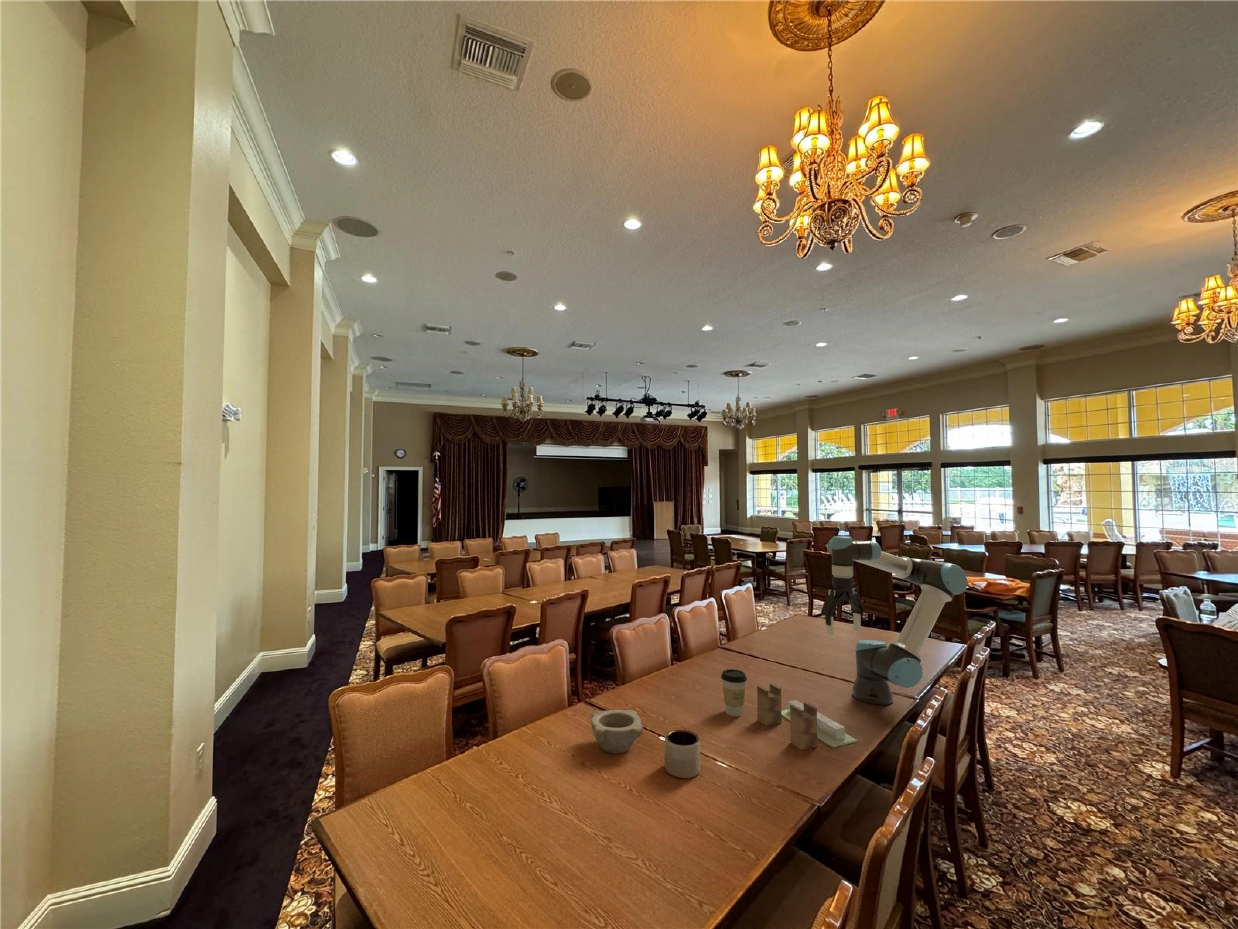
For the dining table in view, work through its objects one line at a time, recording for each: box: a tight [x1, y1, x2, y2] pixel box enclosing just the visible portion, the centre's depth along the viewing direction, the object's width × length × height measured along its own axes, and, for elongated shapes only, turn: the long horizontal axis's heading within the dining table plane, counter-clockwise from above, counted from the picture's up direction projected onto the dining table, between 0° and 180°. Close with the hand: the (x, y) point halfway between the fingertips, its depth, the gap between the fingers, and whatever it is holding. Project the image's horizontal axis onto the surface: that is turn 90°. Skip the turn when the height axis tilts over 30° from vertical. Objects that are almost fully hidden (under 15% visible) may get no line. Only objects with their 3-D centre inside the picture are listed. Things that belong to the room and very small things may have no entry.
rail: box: [787, 699, 846, 741], centre depth 178 cm, size 24×4×4 cm, turn 21°
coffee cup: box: [720, 668, 748, 717], centre depth 189 cm, size 10×10×15 cm
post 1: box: [756, 683, 783, 727], centre depth 182 cm, size 7×5×12 cm
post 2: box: [789, 701, 819, 751], centre depth 165 cm, size 7×5×12 cm
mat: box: [781, 708, 858, 748], centre depth 178 cm, size 11×28×1 cm, turn 21°
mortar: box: [590, 709, 644, 755], centre depth 163 cm, size 17×17×9 cm
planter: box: [664, 729, 701, 779], centre depth 150 cm, size 11×11×10 cm
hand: (843, 632), depth 188 cm, fingers open, 13 cm apart
